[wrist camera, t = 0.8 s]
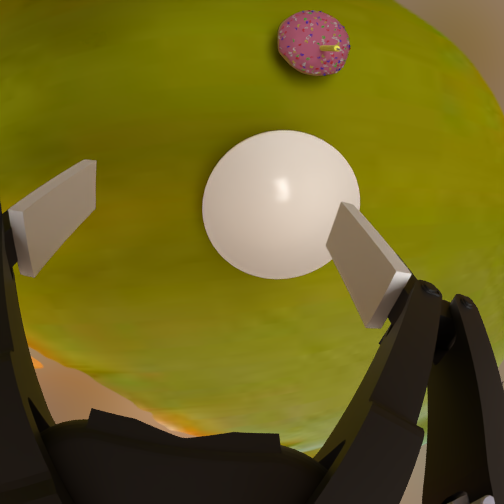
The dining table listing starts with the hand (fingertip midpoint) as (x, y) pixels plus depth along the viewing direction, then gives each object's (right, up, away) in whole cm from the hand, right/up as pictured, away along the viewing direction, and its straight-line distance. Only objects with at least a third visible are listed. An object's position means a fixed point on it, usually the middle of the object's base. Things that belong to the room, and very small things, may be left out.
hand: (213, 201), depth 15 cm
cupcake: (+9, +23, +16) cm, 30 cm away
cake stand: (+5, +6, +25) cm, 27 cm away
